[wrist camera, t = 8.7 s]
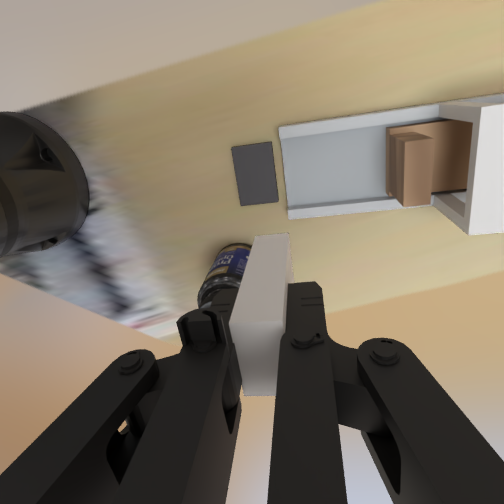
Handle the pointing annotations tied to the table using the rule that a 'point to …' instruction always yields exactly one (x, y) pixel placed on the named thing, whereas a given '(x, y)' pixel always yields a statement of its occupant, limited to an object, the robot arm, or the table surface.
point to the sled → (427, 159)
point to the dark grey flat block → (255, 173)
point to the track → (374, 163)
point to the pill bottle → (224, 273)
